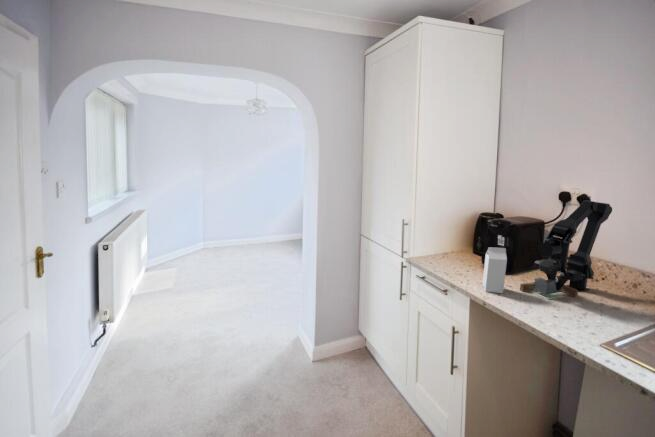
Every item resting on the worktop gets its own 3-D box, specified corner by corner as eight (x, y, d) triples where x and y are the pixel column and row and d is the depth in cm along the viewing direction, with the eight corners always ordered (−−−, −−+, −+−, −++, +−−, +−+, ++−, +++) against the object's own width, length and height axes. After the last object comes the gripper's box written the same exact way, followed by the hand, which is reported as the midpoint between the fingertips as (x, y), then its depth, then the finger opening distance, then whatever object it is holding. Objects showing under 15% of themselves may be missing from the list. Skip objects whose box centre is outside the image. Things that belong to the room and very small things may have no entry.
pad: (545, 289, 165) (546, 288, 165) (564, 297, 157) (564, 296, 157) (530, 291, 162) (530, 291, 162) (548, 299, 154) (548, 299, 154)
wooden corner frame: (550, 285, 169) (551, 279, 168) (577, 296, 157) (578, 290, 157) (519, 290, 163) (520, 283, 163) (544, 302, 152) (545, 295, 151)
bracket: (545, 294, 155) (547, 283, 154) (533, 289, 161) (535, 278, 160) (561, 291, 158) (563, 280, 157) (549, 286, 163) (551, 275, 162)
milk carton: (503, 293, 160) (508, 250, 156) (485, 291, 161) (490, 249, 157) (499, 287, 166) (503, 246, 163) (482, 285, 168) (486, 245, 164)
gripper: (526, 249, 161) (522, 283, 164) (565, 262, 144) (560, 300, 147) (546, 247, 165) (541, 280, 168) (586, 259, 147) (580, 296, 151)
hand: (554, 289), depth 158 cm, fingers closed on bracket, 3 cm apart
